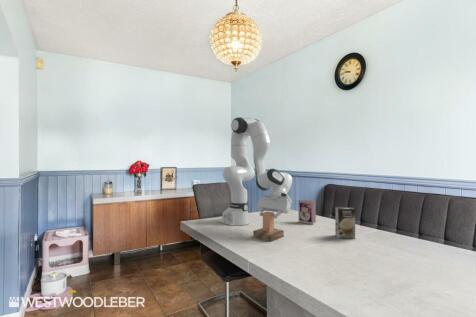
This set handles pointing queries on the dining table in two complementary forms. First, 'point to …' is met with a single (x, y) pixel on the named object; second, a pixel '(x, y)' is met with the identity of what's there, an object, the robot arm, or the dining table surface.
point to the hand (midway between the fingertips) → (267, 216)
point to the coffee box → (345, 222)
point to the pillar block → (268, 221)
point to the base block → (268, 234)
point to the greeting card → (307, 211)
